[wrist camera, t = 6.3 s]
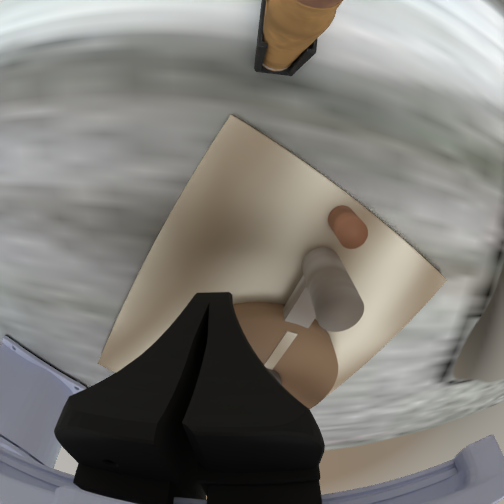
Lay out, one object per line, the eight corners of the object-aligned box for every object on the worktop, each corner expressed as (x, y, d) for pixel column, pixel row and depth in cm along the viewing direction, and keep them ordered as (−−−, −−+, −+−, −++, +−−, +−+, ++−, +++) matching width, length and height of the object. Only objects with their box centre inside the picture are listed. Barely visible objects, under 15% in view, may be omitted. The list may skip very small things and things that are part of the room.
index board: (102, 354, 20) (88, 382, 18) (232, 114, 13) (227, 115, 11) (273, 425, 24) (275, 452, 22) (439, 272, 17) (462, 297, 15)
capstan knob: (287, 416, 22) (291, 460, 18) (163, 384, 20) (151, 431, 16) (400, 279, 16) (432, 324, 12) (237, 208, 14) (233, 246, 10)
